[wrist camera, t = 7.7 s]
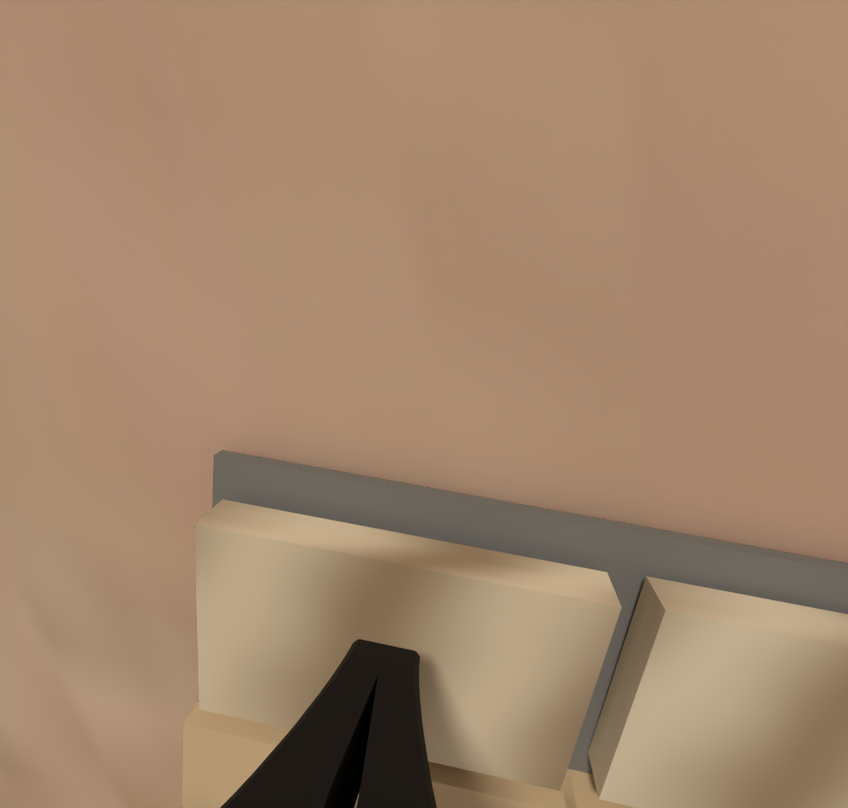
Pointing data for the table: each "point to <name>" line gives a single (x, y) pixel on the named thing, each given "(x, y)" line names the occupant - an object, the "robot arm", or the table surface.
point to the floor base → (504, 532)
